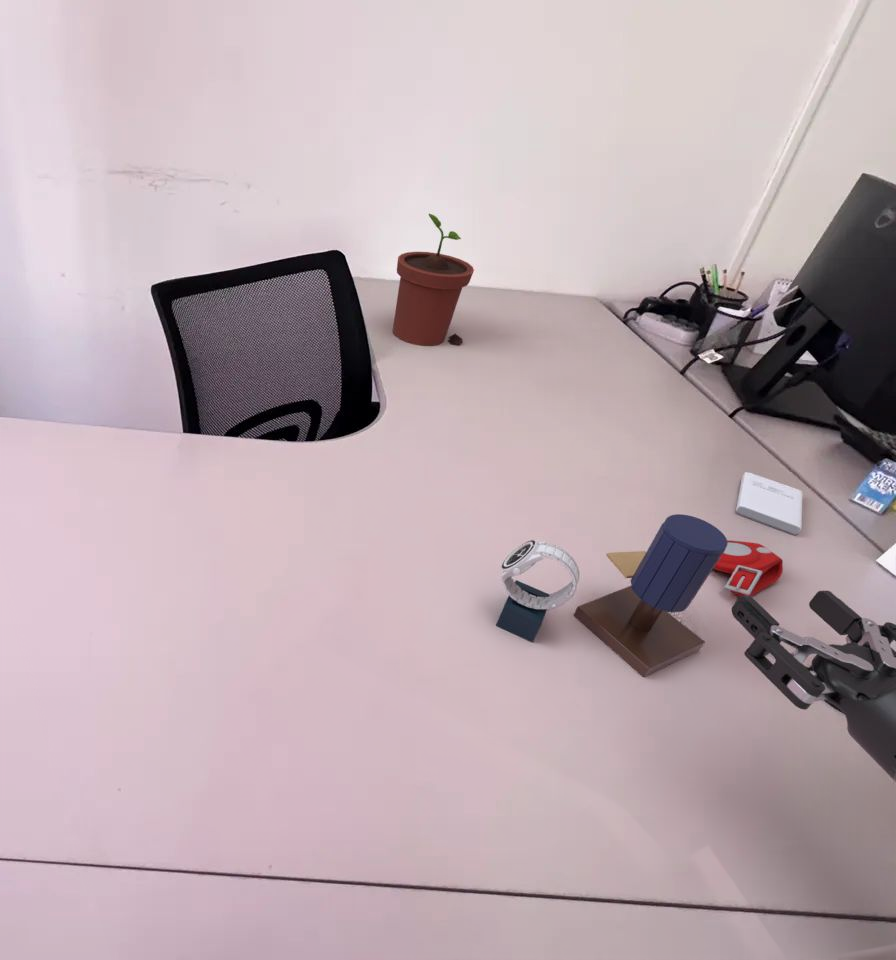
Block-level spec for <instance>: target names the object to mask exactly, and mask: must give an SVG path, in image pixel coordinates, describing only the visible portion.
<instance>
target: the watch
mask: <svg viewBox="0 0 896 960" xmlns="http://www.w3.org/2000/svg"><path fill="white" fill-rule="evenodd" d="M544 558H547V559H550V560H552V561H554V562H557V563H558V564H559V565H560V566H562V567H564V569H565V570H566V571H567V573H568V574H569V576H570V578H571V582H568V583H567V585H565V586H563V587H562V588H561V589H559V590H557V591H555V592H552V593H547V592H545V591H542V590H541V589H539V588H535V587H534V586H531V585H530V584H529V585H528V584H526V583H524V582H522V581H520V580H517V579H515V580H514V577H517V576H520V575H522V574H525V573H526V572H527V571H529V570H530V569H531V568H532V567H533V566H534V565H535V564H536V563H537V562H540V561H542V560H544ZM500 567H501V568H500V569H501V570H502V574H501V576H500V579H501V585H502V587H503V589H504V590H505V593H506V594H507V595H508V596H507V597H506V598H507V599H506V600H505V602H504V605H503V607H502V609H501V611H500V614H499V617H498V619H497V622H496V624H495V626H496V627H498V628H500V629H502V630H505V631H507V632H509V633H511V634H514V635H515V636H517V637H520V638H522V639H524V640H526V641H528V642H531V643H534V641H535V640H536V637H537V635H538V632H539V630H540V628H541V626H542V624H543V621H544V618H545V616H546V613H547V611H551V610H554V609H556V608H558V607H561V606H563V605H564V604H566V603H567V602H569V600H571V599H572V598H573V597H574V596H575V594H576V591H577V587H578V584H579V580H580V570H579V566H578V564H577V562H576V561H575V559H574V558H573V557H572V555H570V553H569V552H567V551H566V550H565V549H563V548H562V547H560V546H558V545H554V544H552V543H549V542H548V541H537V540H536V539H531V540H527V541H526V542H523V543H522V544H521V545H519V546H517V547H516V548H515V549H513V550H512V551H511V553H509V554H508V555H507V557H506V558H505V559H504V560H503V562H502V564H501V566H500ZM512 577H513V578H512Z"/></svg>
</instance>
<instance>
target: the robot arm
mask: <svg viewBox="0 0 896 960" xmlns="http://www.w3.org/2000/svg"><path fill="white" fill-rule="evenodd" d="M808 606H809V609H810V610H812V612H814V613H815V614H816V615H817V616H818V617H819V618H820V619H822V621H824V622H825V623H826V624H827V625H828V626H829V627H830V628H831V629H833V631H835V632H836V633H837V634H838V635H839V636H845V641H846V643H845V644H842V645H841V644H834V643H832V644H828V643H825V642H823V641H822V640H819V639H817V638H815V637H814V636H805V637H802V636H800V635H798V634H796V633H793V632H792V631H789V630H787V629H786V628H783V627H782V626H780V623H779V621H777V620H776V619H775V618H774V617H773V616H772V615H771V613H769V612H768V611H767V610H766V609H765V608H764V607H763V606H762V605H761V604H760V603H759V602H758V601H757V600H756V599H755V598H753V596H738V598H737V599H736V600H735V602H734V604H733V605H732V606H731V615H732V616H733V618H734V619H735V620H736V621H737V622H738V623H739V624H740V625H741V626H742V628H744V629H745V630H746V631H747V632H748V634H749V635H750V636H752V638H753V641H752V643H750V645H749V646H748V647H747V648H746V650H745V651H744V652H743V655H744V656H745V658H747V659H748V661H750V662H751V664H753V666H754V667H755V668H756V669H758V671H759V672H760V673H761V674H763V675H764V677H766V678H767V680H769V682H770V683H772V684H773V686H775V688H776V689H778V690H779V691H780V693H782V695H784V696H785V698H786V699H788V700H789V701H790V703H792V704H793V705H794V706H795V707H796V708H798V709H799V710H808V709H809V708H810V707H811V705H812V704H814V703H815V702H819V701H827V702H828V703H829V704H831V705H833V706H834V707H836V708H837V709H838V710H839V711H841V712H842V713H843V714H844V715H845V718H846V722H847V724H846V725H847V726H846V729H847V733H848V734H849V736H850V738H852V739H853V740H854V741H855V742H856V743H857V744H858V745H859V746H860V747H861V748H862V749H863V750H864V751H865V752H866V753H867V754H868V755H869V756H870V757H871V758H872V760H873V761H874V762H875V763H876V764H877V765H879V767H881V769H882V770H883V771H884V772H885V773H886V774H887V775H888V776H889V777H890V778H891V779H892V780H893V782H895V783H896V650H894V648H893V647H891V644H892V643H893V642H896V624H895V623H893V622H890V621H888V622H885V623H884V624H883V625H882V624H878V623H877V622H875V621H874V620H872V619H870V618H867V617H863V618H862V616H860V615H859V614H858V613H857V612H856V611H854V610H853V609H852V608H851V607H849V605H848V604H846V603H845V602H844V601H843V600H842V599H840V598H839V597H837V596H836V595H835V594H834V593H833V592H832V591H830V590H818V591H817V592H816V593H815V595H813V597H812V598H811V600H810V601H809V603H808ZM781 643H783V644H786V645H788V646H790V647H791V648H794V649H795V650H794V651H793V652H789V651H788V649H786V648H785V647H784V646H783V645H782V644H781ZM810 655H815V656H814V657H813V658H812V660H811V668H810V667H809V666H806V665H805V664H804V662H805V661H806V659H808V658H809V656H810ZM766 656H767V657H770V658H772V659H773V660H775V662H773V663H772V662H771V661H770V660H769V659H768V658H767V657H766Z"/></svg>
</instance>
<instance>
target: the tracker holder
mask: <svg viewBox="0 0 896 960" xmlns="http://www.w3.org/2000/svg"><path fill="white" fill-rule="evenodd" d="M727 542H728V543H727V547H726V549H725V551H724V553H723V554H722V556H721V557H720V559H719V560H718V562H717V563H716V565H715V567H714V568H713V570H716V571H717V572H718V571H719V572H722V573H727V574H731V576H730V577H729V579H728V580H727V582H726V584H725V586H724V589H725V590H729V592H730V593H731V594H733V595H736V596H738V597H740V596H751V597H753V596H754V595H756V594H758V593H759V592H761V591H763V590H764V589H766V588H768V587H769V586H771V585H773V584H774V583H776V582H777V581H778V580H780V578H781V576H782V574H783V569H784V567H783V564H784V561H783V559H782V558H781V557H780V556H779V555H777V554H775V552H773V551H772V550H771V549H769V548H768V547H766V546H764V545H762V544H761V543H757V542H749V541H741V540H728V539H727Z"/></svg>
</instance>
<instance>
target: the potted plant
mask: <svg viewBox="0 0 896 960" xmlns="http://www.w3.org/2000/svg"><path fill="white" fill-rule="evenodd" d="M428 217H429V218H430V219H431V221H432V222H433V225H434V226H435V227H436V228H437V229H438V230H439V233H440V235H441V236H440V240H439V245H438V248H437V252H430V251H407V252H404V253H401V254H399V255H398V256H397V263H396V273H397V275H398V276H399V284H398V292H397V297H396V303H395V304H396V305H395V311H394V318H393V324H392V335H394V336H395V337H396V338H397V339H399V340H401V341H403V342H406V343H409V344H412V345H416V346H423V347H424V346H425V347H433V346H439V345H441V344H443V343H444V342H445V340H446V337H447V336H448V335H447V334H448V331H449V329H450V325H451V322H452V320H453V317H454V314H455V311H456V308H457V305H458V303H459V299H460V295H461V293H462V290H463V288H465V287H467V286H468V285H469V284H470V282H471V279H472V277H473V274H474V272H475V269H474V267H473V266H472V264H470V263H469V262H467V261H465V260H463V259H460V258H457V257H454V256H451V255H447V254H443V253H441V251H442V245H443V241H444V239H450V240H456V241H457V240H458V241H459V240H461V239H462V238H461V237H460V235H459V234H458V233H457V232H455V231H453V230H450V231H449V232H448V235H444V234H445V233H444V231H443V229H442V222H441V220H439V218H438V217H437V216H436V215H435V214H431V213H428ZM447 341H448V342H449V343H450V345H455V346H461V345H463V344H464V342H463V341H464V340H463V338H462V337H461V336H459V335H458V334H457V333H454V334H452V335H450V336H449V337H448V340H447Z"/></svg>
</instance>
